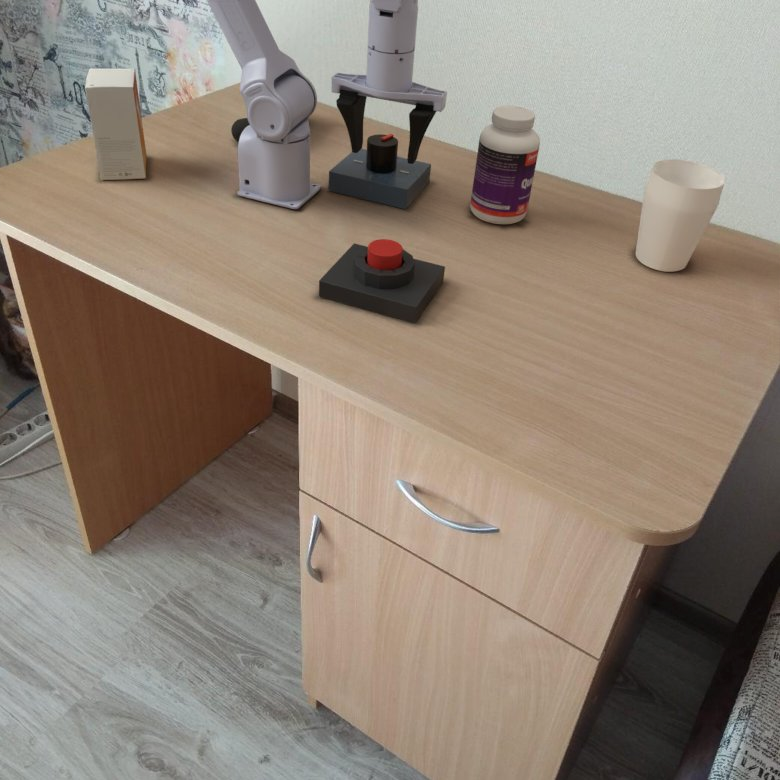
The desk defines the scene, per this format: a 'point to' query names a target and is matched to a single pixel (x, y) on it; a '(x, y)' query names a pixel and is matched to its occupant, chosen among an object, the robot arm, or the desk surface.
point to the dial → (381, 153)
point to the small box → (116, 123)
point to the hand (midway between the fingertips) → (384, 155)
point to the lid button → (384, 254)
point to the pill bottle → (505, 166)
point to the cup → (676, 212)
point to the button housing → (382, 284)
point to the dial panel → (379, 180)
